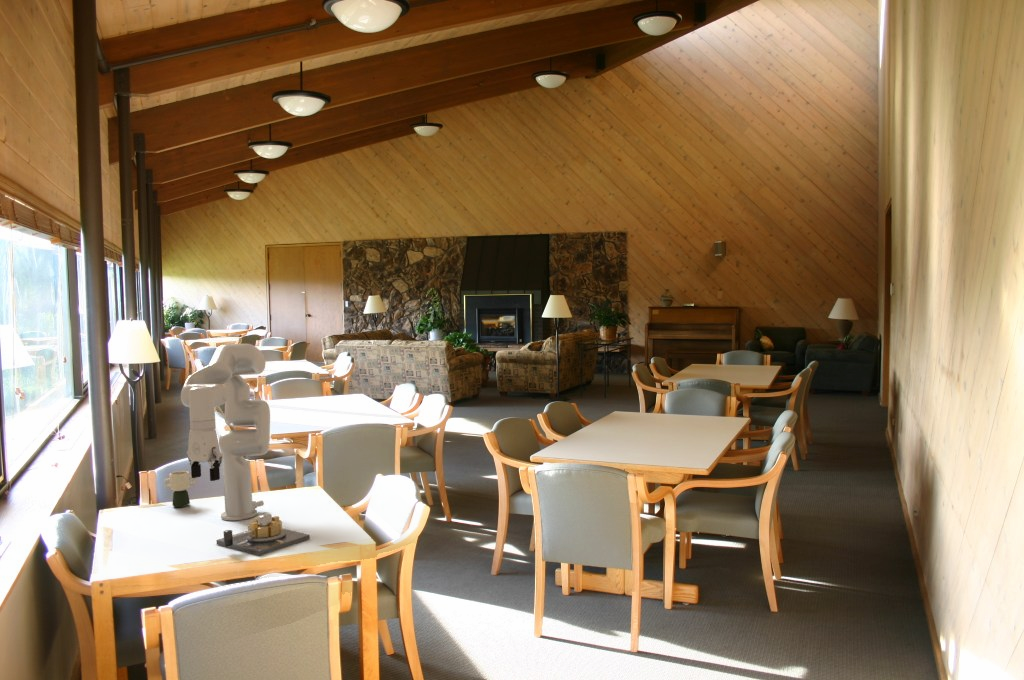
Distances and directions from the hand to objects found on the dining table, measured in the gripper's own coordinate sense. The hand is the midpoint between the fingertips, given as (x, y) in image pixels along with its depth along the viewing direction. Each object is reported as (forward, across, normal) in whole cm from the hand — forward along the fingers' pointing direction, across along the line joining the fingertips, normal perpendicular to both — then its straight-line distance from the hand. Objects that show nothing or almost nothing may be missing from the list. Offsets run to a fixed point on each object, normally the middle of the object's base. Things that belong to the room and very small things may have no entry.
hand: (205, 478), depth 274 cm
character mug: (+21, -56, +27) cm, 66 cm away
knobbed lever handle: (+20, +10, +9) cm, 24 cm away
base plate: (+22, +10, +13) cm, 28 cm away
